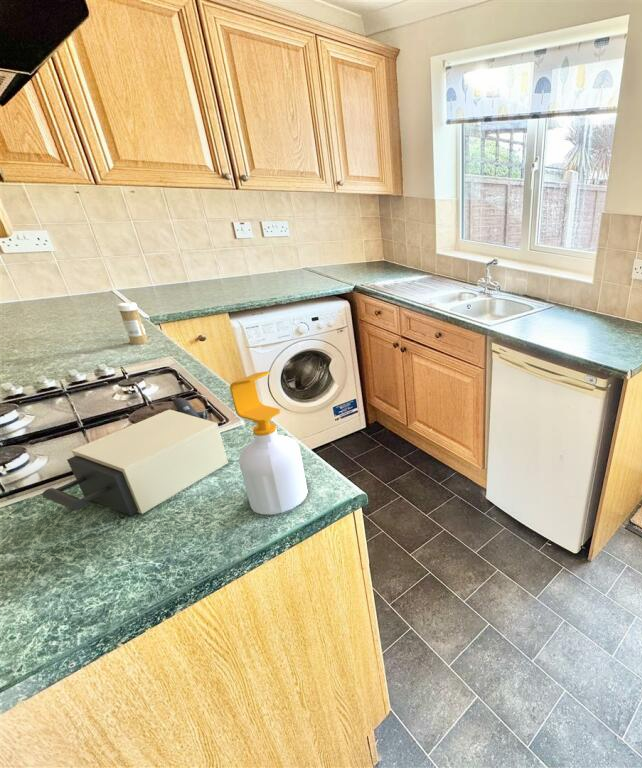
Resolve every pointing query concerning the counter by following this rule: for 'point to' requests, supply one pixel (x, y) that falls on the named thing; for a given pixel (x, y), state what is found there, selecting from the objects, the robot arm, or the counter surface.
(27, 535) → the counter surface
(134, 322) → the sprinkles bottle
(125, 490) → the dark grey drawer
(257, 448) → the spray bottle
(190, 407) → the grey club-shaped piece
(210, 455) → the drawer box
